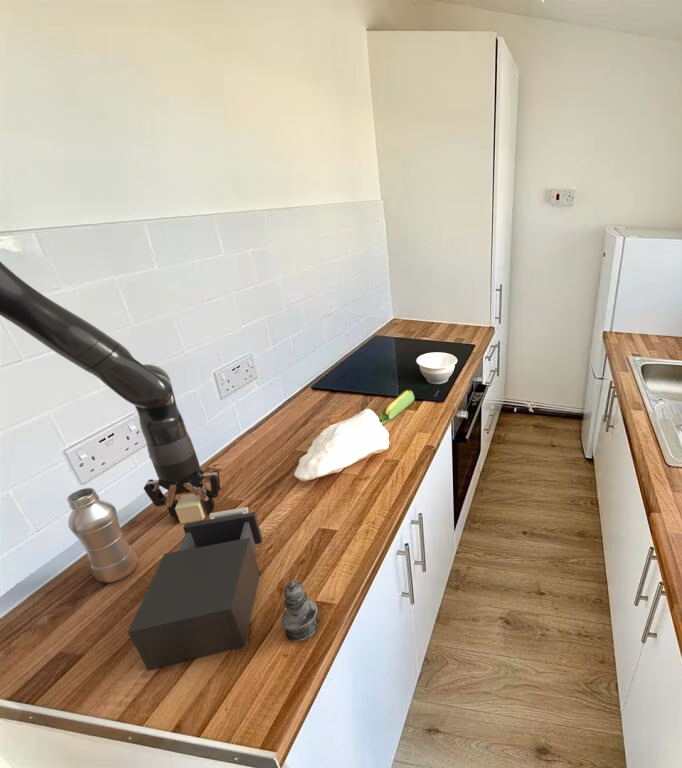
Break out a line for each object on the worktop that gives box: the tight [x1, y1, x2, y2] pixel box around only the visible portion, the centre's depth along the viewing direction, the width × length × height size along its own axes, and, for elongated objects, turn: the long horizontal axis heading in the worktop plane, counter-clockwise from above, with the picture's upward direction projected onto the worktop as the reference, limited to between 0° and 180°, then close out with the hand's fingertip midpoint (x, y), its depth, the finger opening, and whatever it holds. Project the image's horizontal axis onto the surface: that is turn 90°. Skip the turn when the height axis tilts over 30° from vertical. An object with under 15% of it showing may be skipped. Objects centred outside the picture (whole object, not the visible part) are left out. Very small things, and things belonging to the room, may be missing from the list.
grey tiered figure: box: [280, 580, 319, 642], centre depth 75 cm, size 6×6×12 cm
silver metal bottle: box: [66, 487, 138, 584], centre depth 82 cm, size 6×7×20 cm
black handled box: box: [127, 538, 261, 672], centre depth 77 cm, size 16×14×10 cm
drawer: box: [177, 506, 264, 556], centre depth 87 cm, size 20×13×8 cm, turn 19°
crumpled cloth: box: [293, 408, 390, 482], centre depth 122 cm, size 24×35×9 cm
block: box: [175, 493, 207, 524], centre depth 100 cm, size 4×4×4 cm
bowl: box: [415, 351, 458, 385], centre depth 171 cm, size 16×16×8 cm
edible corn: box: [379, 389, 415, 425], centre depth 148 cm, size 5×20×5 cm, turn 163°
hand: (194, 513), depth 101 cm, fingers open, 5 cm apart
